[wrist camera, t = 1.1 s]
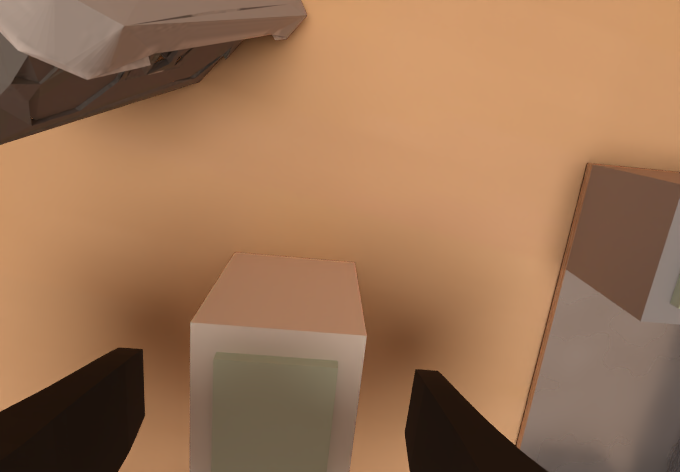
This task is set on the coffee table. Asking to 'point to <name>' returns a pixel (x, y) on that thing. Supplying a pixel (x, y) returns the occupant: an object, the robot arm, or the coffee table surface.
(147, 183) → the coffee table surface
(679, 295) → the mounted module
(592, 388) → the rail
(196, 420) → the block
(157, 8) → the electrical switch
